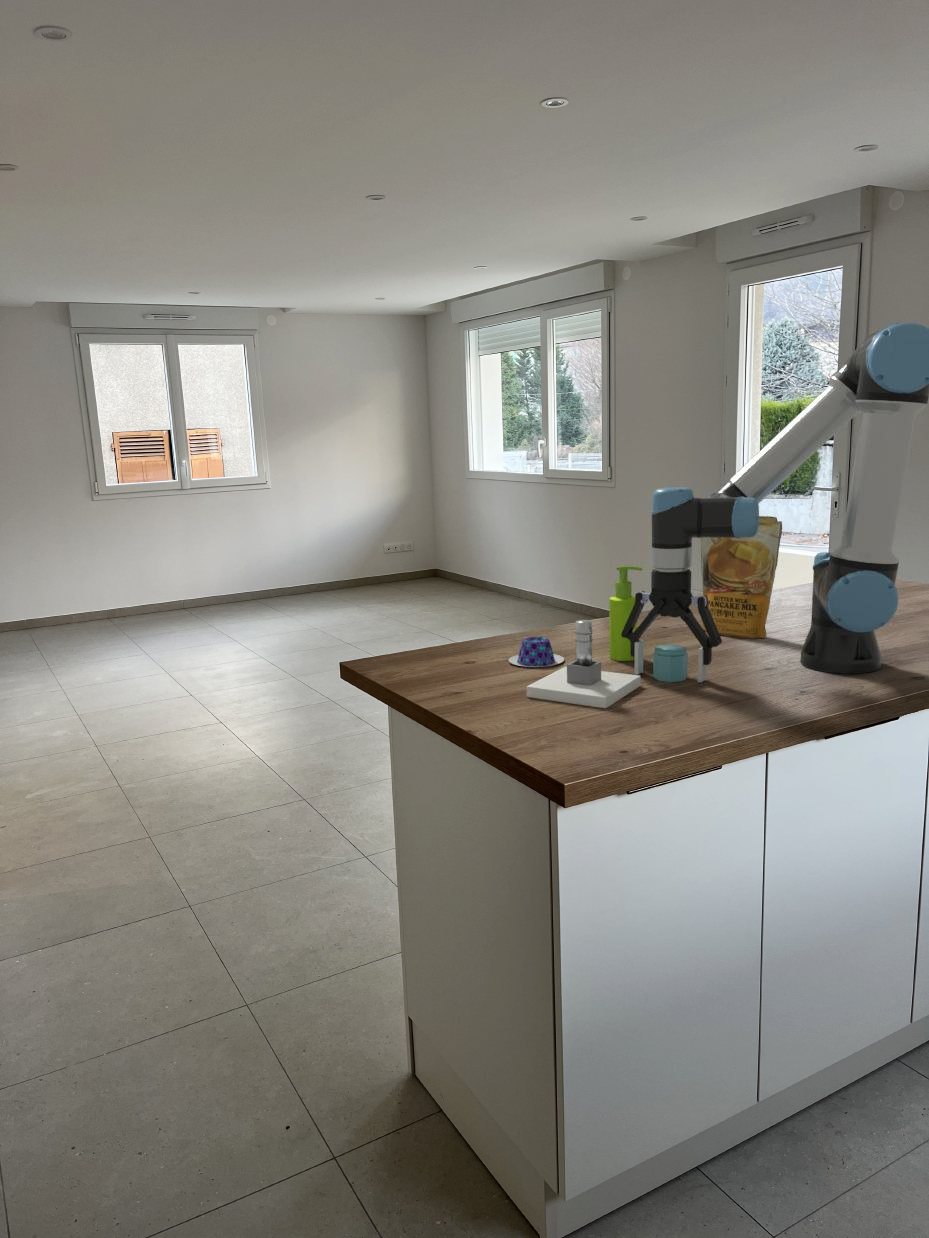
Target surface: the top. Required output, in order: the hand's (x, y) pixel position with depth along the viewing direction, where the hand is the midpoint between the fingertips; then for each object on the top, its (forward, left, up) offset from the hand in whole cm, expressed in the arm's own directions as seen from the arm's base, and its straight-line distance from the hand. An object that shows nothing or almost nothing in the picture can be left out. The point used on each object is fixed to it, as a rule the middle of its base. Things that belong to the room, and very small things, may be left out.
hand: (669, 676), depth 178 cm
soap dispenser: (+14, -11, 0) cm, 18 cm away
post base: (+11, +16, 0) cm, 19 cm away
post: (+11, +16, +3) cm, 20 cm away
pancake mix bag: (0, -43, 0) cm, 43 cm away
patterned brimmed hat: (+30, 0, -1) cm, 30 cm away
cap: (0, 0, 0) cm, 0 cm away
